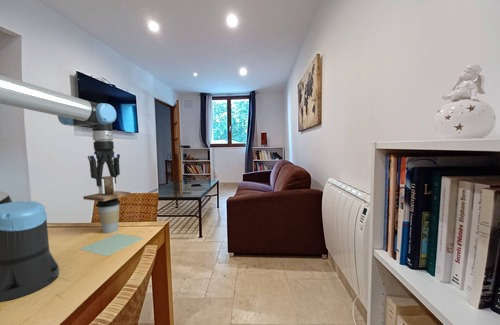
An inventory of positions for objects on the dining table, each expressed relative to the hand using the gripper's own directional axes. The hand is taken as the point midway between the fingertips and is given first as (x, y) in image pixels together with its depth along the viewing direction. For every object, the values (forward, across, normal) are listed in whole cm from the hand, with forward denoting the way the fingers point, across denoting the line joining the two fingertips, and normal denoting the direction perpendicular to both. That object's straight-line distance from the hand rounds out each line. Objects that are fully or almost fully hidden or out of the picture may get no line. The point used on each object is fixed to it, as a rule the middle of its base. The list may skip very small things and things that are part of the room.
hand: (107, 192), depth 102 cm
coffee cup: (+19, 0, 0) cm, 19 cm away
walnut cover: (+2, 0, 0) cm, 2 cm away
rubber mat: (+19, -9, -14) cm, 25 cm away
